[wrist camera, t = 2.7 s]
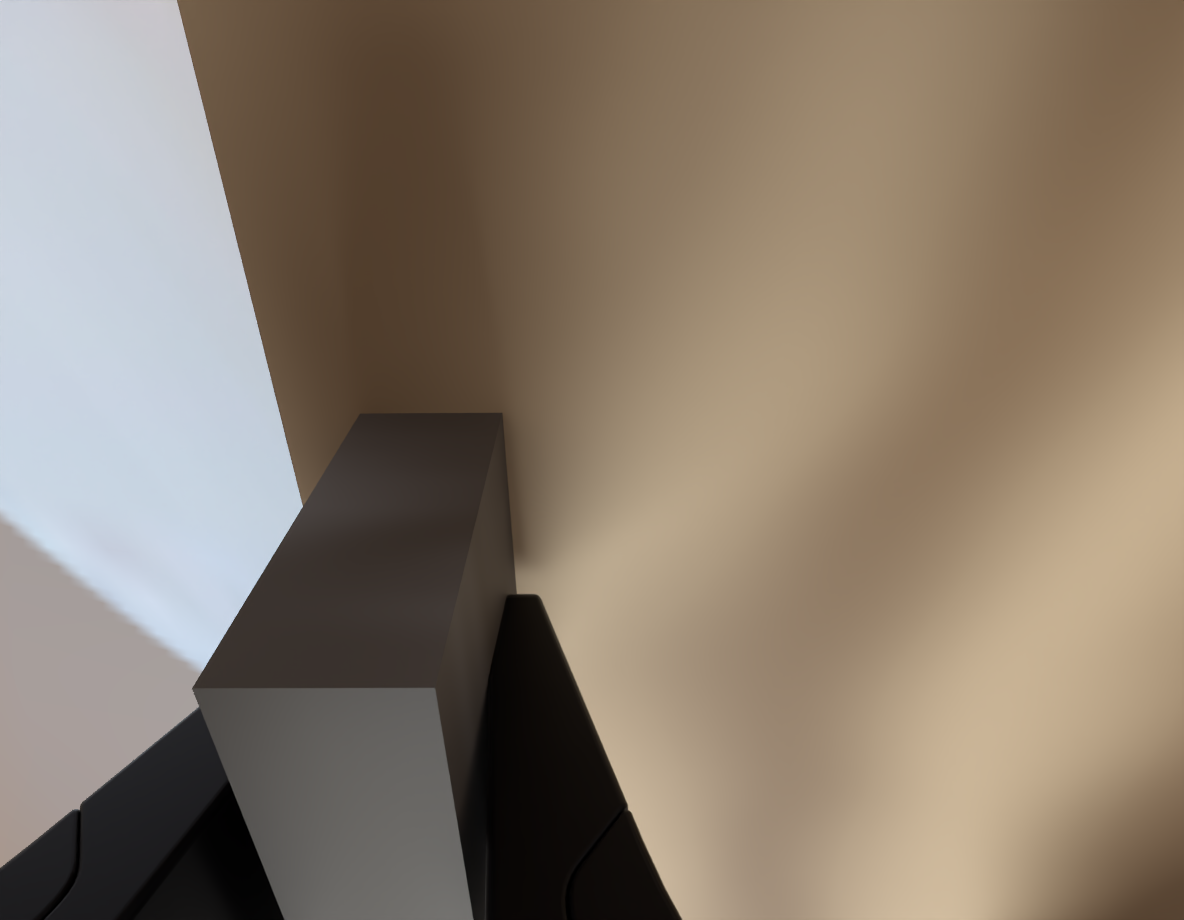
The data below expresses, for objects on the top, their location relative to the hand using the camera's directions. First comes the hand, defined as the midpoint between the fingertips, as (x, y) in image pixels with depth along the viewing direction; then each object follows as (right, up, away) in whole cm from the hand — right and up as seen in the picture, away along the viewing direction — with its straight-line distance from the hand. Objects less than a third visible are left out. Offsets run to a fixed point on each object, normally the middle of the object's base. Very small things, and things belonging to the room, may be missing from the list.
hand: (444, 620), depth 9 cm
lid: (+5, +1, +1) cm, 6 cm away
